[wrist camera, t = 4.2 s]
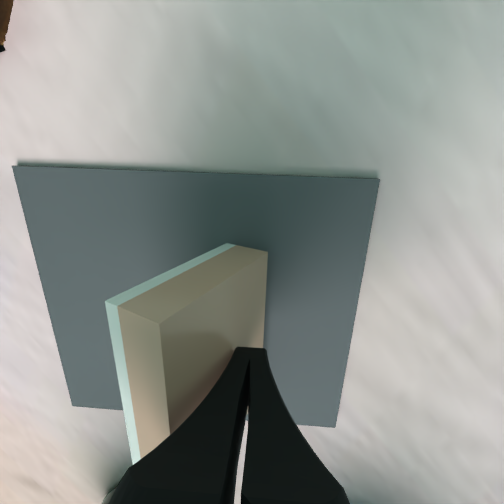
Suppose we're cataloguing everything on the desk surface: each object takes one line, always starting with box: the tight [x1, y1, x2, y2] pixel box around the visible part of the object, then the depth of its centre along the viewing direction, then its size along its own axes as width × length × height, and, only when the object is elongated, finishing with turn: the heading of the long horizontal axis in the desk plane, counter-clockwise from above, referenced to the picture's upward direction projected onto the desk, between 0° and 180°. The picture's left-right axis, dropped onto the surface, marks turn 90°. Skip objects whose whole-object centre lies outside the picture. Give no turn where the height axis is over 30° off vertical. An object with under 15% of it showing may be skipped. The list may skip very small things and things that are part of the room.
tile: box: [105, 243, 268, 465], centre depth 13 cm, size 2×9×7 cm, turn 177°
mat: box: [12, 166, 380, 428], centre depth 17 cm, size 18×16×1 cm
